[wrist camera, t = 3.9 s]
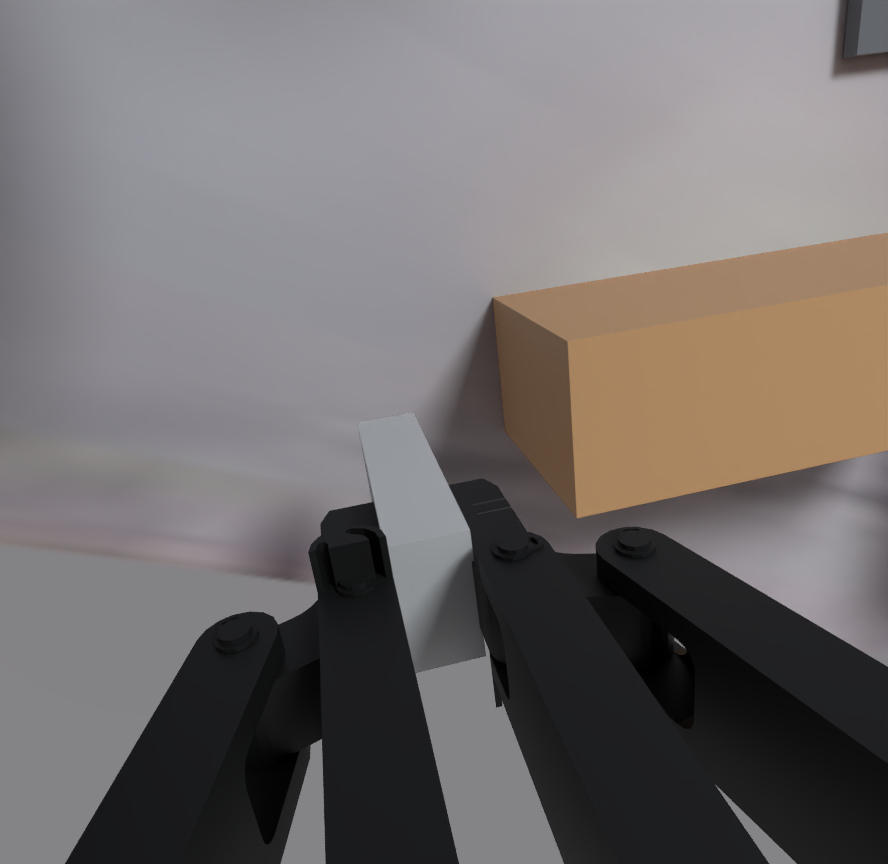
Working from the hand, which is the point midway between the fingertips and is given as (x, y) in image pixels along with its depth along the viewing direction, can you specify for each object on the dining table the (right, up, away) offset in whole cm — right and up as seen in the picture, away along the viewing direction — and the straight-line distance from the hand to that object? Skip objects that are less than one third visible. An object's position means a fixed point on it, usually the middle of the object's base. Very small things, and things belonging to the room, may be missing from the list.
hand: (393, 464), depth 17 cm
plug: (+14, +5, +7) cm, 16 cm away
